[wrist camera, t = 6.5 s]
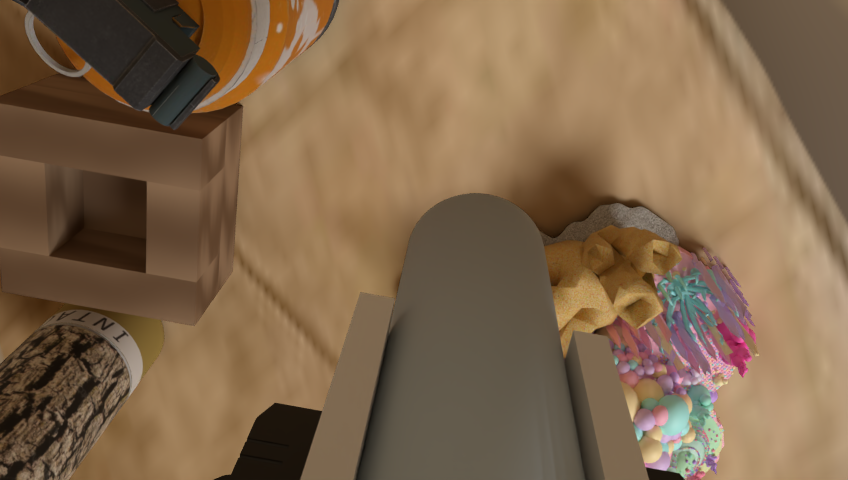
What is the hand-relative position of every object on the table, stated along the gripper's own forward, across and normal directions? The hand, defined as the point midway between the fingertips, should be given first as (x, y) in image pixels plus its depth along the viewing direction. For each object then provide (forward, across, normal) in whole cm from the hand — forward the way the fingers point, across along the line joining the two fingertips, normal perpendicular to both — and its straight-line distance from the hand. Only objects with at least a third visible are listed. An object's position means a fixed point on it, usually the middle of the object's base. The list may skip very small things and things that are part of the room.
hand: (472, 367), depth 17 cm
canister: (+29, +14, -5) cm, 32 cm away
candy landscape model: (+29, -10, +18) cm, 36 cm away
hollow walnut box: (+29, +19, +9) cm, 35 cm away
